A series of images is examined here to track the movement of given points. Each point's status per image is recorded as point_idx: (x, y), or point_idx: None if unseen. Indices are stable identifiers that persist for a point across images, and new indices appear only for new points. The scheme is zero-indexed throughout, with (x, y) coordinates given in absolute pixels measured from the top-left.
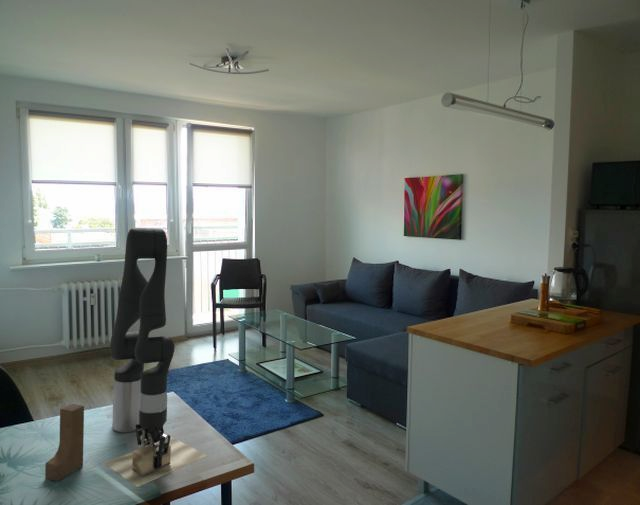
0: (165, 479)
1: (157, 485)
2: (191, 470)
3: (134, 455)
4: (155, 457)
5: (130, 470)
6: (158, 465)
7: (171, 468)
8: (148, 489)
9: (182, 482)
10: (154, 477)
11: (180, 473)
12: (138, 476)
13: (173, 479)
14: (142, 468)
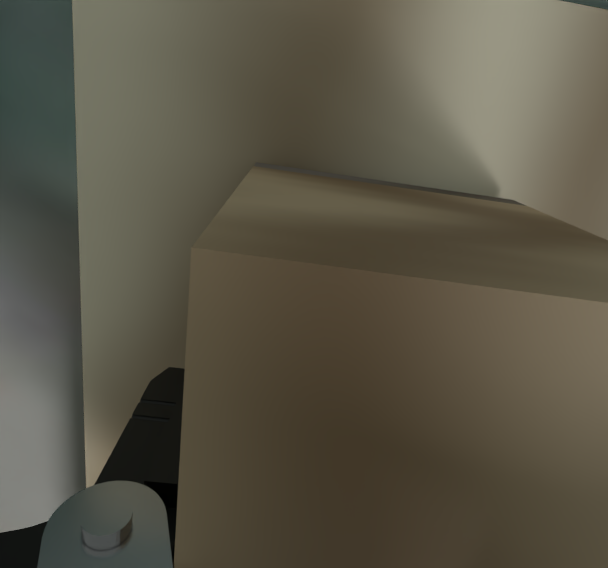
0: None
1: (42, 198)
2: None
3: None
4: (148, 477)
5: (532, 187)
6: (149, 399)
7: None
8: (38, 68)
9: None
10: (118, 245)
11: (78, 470)
12: (312, 139)
13: (28, 371)
14: (244, 181)
